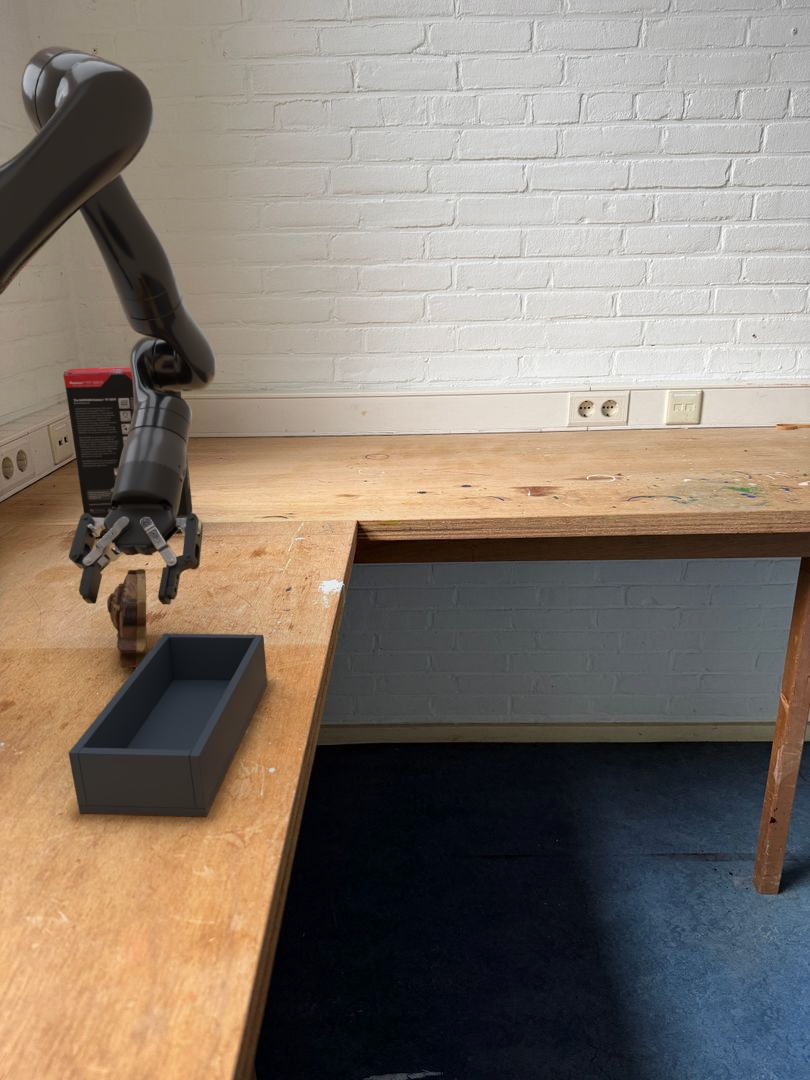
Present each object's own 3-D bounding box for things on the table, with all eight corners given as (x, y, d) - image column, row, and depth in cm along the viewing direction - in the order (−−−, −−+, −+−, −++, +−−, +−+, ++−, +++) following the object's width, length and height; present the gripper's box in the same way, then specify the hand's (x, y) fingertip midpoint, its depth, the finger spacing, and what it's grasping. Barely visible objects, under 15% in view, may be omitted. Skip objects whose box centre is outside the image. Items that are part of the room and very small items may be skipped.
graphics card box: (196, 520, 140) (179, 362, 131) (193, 533, 133) (174, 367, 124) (94, 527, 137) (69, 366, 128) (86, 540, 131) (59, 372, 122)
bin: (79, 813, 65) (67, 752, 63) (170, 682, 85) (163, 633, 84) (206, 817, 64) (199, 755, 62) (267, 683, 85) (263, 634, 83)
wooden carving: (112, 633, 97) (100, 556, 94) (151, 626, 99) (141, 550, 95) (119, 696, 83) (106, 608, 79) (165, 688, 84) (154, 601, 81)
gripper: (79, 458, 92) (48, 588, 85) (200, 457, 91) (178, 589, 84) (105, 490, 99) (78, 613, 92) (218, 490, 98) (199, 614, 91)
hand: (126, 601), depth 88 cm, fingers open, 8 cm apart
